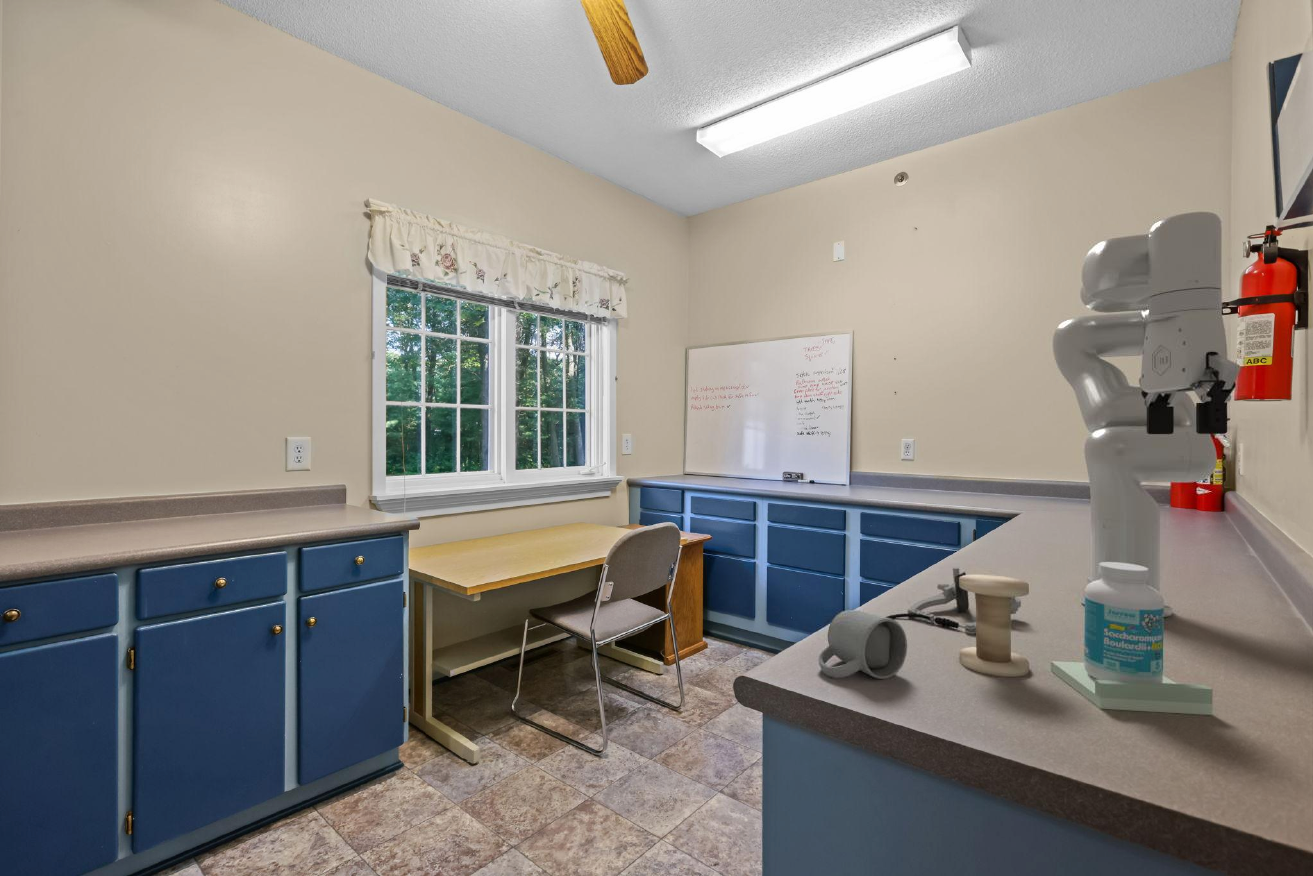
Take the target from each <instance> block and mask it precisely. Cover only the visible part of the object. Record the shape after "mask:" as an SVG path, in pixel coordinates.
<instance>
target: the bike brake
mask: <svg viewBox="0 0 1313 876" xmlns="http://www.w3.org/2000/svg"><path fill="white" fill-rule="evenodd" d="M966 573H967V572H966V571H964V572H962V573H960V567H958V566H953V567H952V578H953V583H951V584H948V583H938V584H937V590H940V591H942V592H941V593H939V594H936V595H933V596H930V597H927V598H925V599H921V600H919V601H917V602H916V603H914V604H913V605H912V606H910V607H909V608H907V613H897V614H890V615H887V616H885V617H886V618H890V619H893V620H894V619H898V618H912V619H914V620H918V621H921V622H925V623H929V624H934V623H935V624H936V625H938V626H942V627H946V628H953V629H954V628H955V629H959V628H962V629H964V631H965V633H966V634H969V635H976V621H974V622H966V623H965V624H964V625H962V624H961V625H960V624H959V622H958V621H957V622H956V621H953V620H951V619H949V618H945V617H943V618H942V617H939V616H937V617H935V614H932V613H929V612H925V611H923V610H925V609H927V608H931V607H936V606H940V605H946V604H948V603H950V602H952V601H953V600H955V601H956V611H957V613H958V614H963V613H965V612H967V611H968V610H969V609H970V607H969V606H970V605H969V604H970V603H969V602H970V601H969V591H966V590H964V589H962V588H960V587H959V577H961V576H964V575H967V574H966ZM974 596H975V598H974V599H975V600H976V593H974ZM1021 606H1022V600H1021V598H1020V597H1011V615H1016V614H1017V612H1018V611H1019V608H1021Z"/></svg>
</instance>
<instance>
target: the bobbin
mask: <svg viewBox="0 0 1313 876" xmlns="http://www.w3.org/2000/svg"><path fill="white" fill-rule="evenodd" d="M959 587H960V588H962V589H964V590H966V591H968V593H969V592H970V593H974V594H975V593H976V599H975V622H976V633H975V646H969V647H964V648H962V649H960V650H959V653H958V654H959V655H958V656H959V657H958V658H959V662H960V664H961V665H962V666H964V667H965V668H967V669H969V670H972V671H974V672H978V673H981V674H984V675H989V676H995V677H1003V678H1016V677H1022V676H1026V675H1028V674H1029V673H1030V661H1029V660H1028V659H1027V658H1025V657H1024V656H1022V655H1020V654H1018V653H1015V652H1013V651H1012V622H1011V621H1012V614H1011V597H1017V598H1020V597H1025V596H1027V595H1029V594H1030V593H1029V592H1030V591H1029V590H1030V585H1029V583H1028V582H1026V581H1025V580H1021V579H1019V578H1018V579H1017V578H1013V577H1010V576H1009V577H1008V576H1004V575H1003V576H1002V575H993V574H981V573H980V574H977V573H976V574H973V573H972V574H966V575H964V576H961V577H959Z"/></svg>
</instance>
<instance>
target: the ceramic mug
mask: <svg viewBox="0 0 1313 876" xmlns="http://www.w3.org/2000/svg"><path fill="white" fill-rule="evenodd" d="M886 617H887V616H881V615H878V614H873V613H868V612H865V611H862V610H857V609H851V610H849V609H847V610H843V611H841V612H839V613H838V614H836V615H835V617H834V618H833V619H832V620H831V622H830V623H829V626H828V631H827V642H828V646H827V647H826V648H824V649H823V650H822V651H821V653H820V654H819V655H818V659H817V660H818V664H819V666H820V670H821V672H822V673H823V674H824V675H826V676H827V677H829V678H835V679H839V678H841V679H842V678H846V677H849V676H851V675H853V674H856V673H857V672H859V671H861V672H863V673H864V674H867V675H868V676H870V677H872V678H874V679H879V680H885V679H889V678H892V677H893V676H895V675H896V674H897V673H898V672H899V671H900V670H901V669H902V667H903V665H904V663H905V661H906V657H907V653H908V640H907V639H908V638H907V635H906V633H905V630H904V629H903V627H902V625H901V624H900V623H899V622H898V621H896V620H894V618H893V619H890V618H886ZM834 656H836V658H837V659H839V660H840V661H842V662H843V663H844V664H840V665H837V666H828V665H827V664H826V663H828V661H829V660H830V659H831V658H833V657H834Z"/></svg>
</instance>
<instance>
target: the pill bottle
mask: <svg viewBox="0 0 1313 876" xmlns="http://www.w3.org/2000/svg"><path fill="white" fill-rule="evenodd" d="M1099 573H1100V576H1102V577H1101V579H1100V580H1096V581H1093V582H1091V583H1087V585H1086V587H1085V590H1084V594H1085V605H1084V636H1083V637H1084V640H1083V641H1084V642H1083V651H1084V652H1083V657H1084V658H1083V663H1084V667H1085V670H1086V671H1087V673H1088V674H1090V675H1091V676H1092V677H1094V678H1096V679H1098V680H1111V681H1130V682H1150V683H1162V682H1163V676H1164V625H1165V624H1164V619H1165V617H1164V603H1165V600H1164V597H1163V596H1162V594H1161V592H1160V593H1159V592H1158V591H1157V590H1155V589H1154V588H1152V587H1150V586H1147V585H1146V582H1147V581H1148V579H1149V569H1148V568H1146V567H1143V566H1139V565H1134V564H1128V563H1119V562H1101V563H1099Z"/></svg>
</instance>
